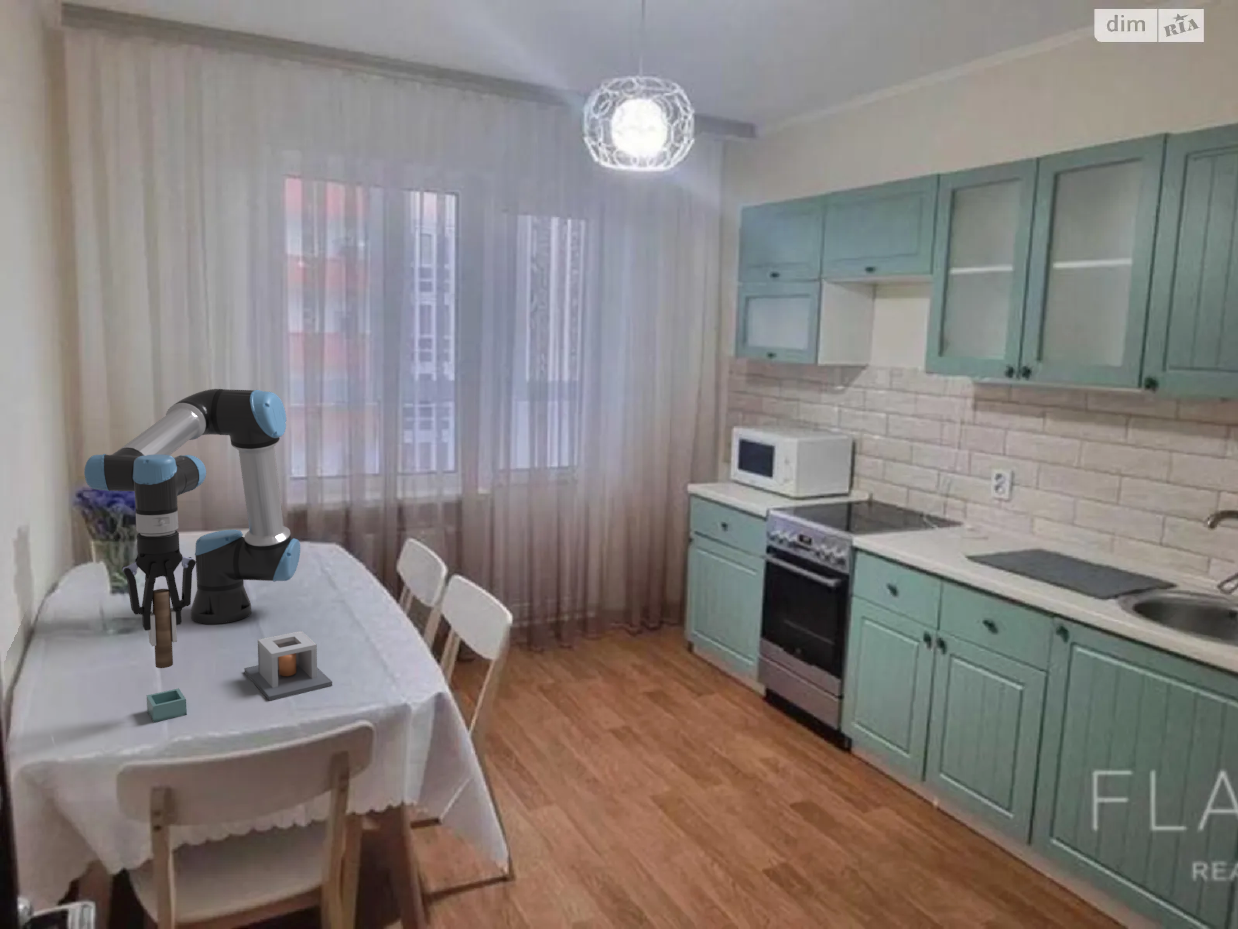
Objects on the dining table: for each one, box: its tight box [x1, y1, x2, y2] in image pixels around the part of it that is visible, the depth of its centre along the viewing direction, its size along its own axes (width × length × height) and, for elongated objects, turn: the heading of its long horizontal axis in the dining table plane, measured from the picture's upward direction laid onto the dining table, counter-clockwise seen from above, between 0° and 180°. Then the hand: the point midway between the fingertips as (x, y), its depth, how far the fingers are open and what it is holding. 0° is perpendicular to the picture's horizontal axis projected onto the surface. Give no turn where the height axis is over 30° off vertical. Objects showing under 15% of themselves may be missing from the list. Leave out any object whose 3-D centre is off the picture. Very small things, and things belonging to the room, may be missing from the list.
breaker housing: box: [244, 630, 333, 702], centre depth 198 cm, size 18×14×9 cm
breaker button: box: [279, 653, 297, 676], centre depth 198 cm, size 4×4×4 cm
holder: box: [146, 687, 188, 723], centre depth 180 cm, size 6×6×4 cm
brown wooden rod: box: [152, 588, 174, 669], centre depth 176 cm, size 3×3×16 cm
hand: (163, 641), depth 177 cm, fingers closed on brown wooden rod, 3 cm apart
